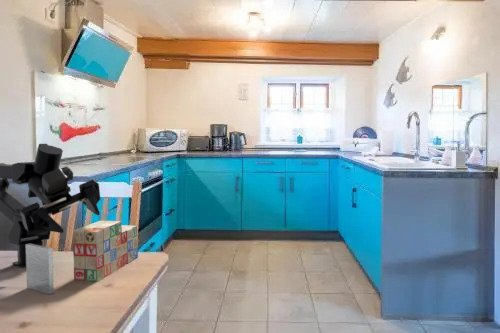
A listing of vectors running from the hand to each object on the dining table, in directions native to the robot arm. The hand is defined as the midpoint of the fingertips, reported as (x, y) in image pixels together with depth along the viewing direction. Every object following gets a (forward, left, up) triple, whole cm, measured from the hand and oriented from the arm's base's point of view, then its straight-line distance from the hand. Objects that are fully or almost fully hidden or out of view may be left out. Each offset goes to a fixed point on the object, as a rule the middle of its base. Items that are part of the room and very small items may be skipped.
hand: (81, 222), depth 100 cm
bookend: (-3, -9, -14) cm, 17 cm away
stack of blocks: (-3, +11, -14) cm, 18 cm away
